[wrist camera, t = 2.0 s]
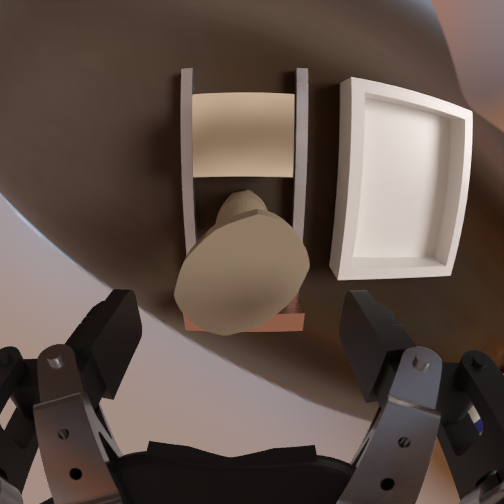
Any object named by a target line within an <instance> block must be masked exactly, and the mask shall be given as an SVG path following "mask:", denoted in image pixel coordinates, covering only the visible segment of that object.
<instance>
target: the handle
mask: <svg viewBox="0 0 504 504" xmlns="http://www.w3.org/2000/svg"><path fill="white" fill-rule="evenodd" d="M309 268H310V264H309V257H308V253H307V250H306V248H305V246H304V245H303V243H302V241H301V239H300V237H299V236H298V234H297V233H296V232H295V230H294V229H293V228H292V227H291V226H290V225H289V224H288V223H287V222H286V221H285V220H283V219H282V218H280V217H279V216H277V215H276V214H274V213H271V212H268V211H267V208H266V206H265V204H264V203H263V201H262V200H261V199H260V198H259V197H258V196H257V195H255V194H254V193H253V192H252V191H251V190H246V191H240V192H234V193H232V194H231V195H230V196H229V197H228V198H227V200H226V201H225V202H224V203H223V205H222V207H221V208H220V211H219V213H218V215H217V219H216V224H215V225H214V226H213V227H212V228H210V229H209V230H208V231H207V232H206V233H205V234H204V235H203V236H202V237H201V238H200V239H199V240H198V241H197V242H196V243H195V245H194V246H193V247H192V248H191V249H190V251H189V252H188V254H187V256H186V258H185V261H184V263H183V265H182V268H181V270H180V273H179V276H178V280H177V283H176V287H175V291H174V297H175V300H176V303H177V305H178V307H179V308H180V310H181V311H182V312H183V313H184V315H185V316H186V317H187V318H188V319H190V320H191V321H192V322H193V323H194V324H196V325H197V326H199V327H200V328H202V329H204V330H206V331H208V332H210V333H214V334H217V335H223V336H227V335H231V334H235V333H239V332H243V331H246V330H250V329H253V328H255V327H258V326H260V325H262V324H263V323H265V322H267V321H268V320H270V319H271V318H272V317H273V316H275V315H276V314H277V313H279V312H280V311H281V310H282V309H284V308H285V307H286V306H287V305H288V304H289V303H290V302H291V301H292V300H293V298H294V297H295V295H296V294H297V292H298V290H299V288H300V286H301V285H302V283H303V281H304V278H305V276H306V274H307V272H308V270H309Z"/></svg>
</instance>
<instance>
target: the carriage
mask: <svg viewBox="0 0 504 504" xmlns="http://www.w3.org/2000/svg"><path fill="white" fill-rule="evenodd" d="M293 157H294V94H282V93H209V94H193V95H192V159H193V177H229V176H260V177H293Z"/></svg>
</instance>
